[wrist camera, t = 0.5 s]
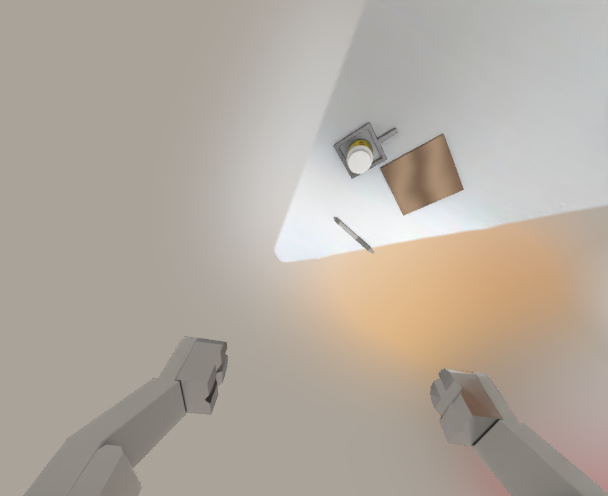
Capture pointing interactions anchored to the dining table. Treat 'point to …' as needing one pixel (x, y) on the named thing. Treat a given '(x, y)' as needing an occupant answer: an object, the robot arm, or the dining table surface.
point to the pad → (423, 175)
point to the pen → (353, 235)
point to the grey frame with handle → (377, 141)
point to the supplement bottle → (360, 156)
